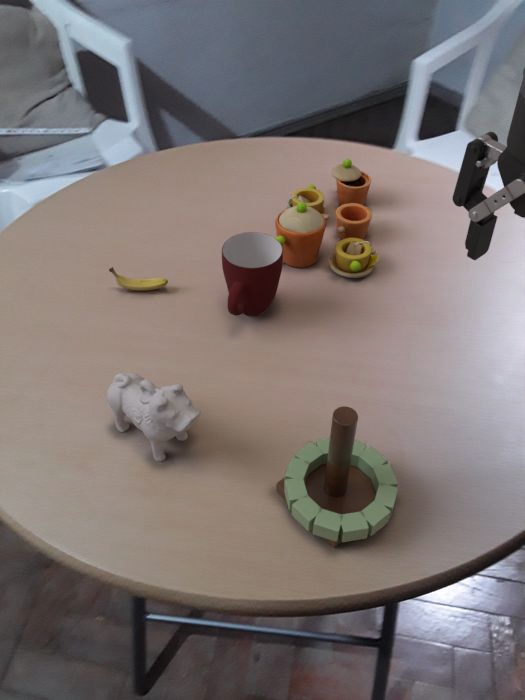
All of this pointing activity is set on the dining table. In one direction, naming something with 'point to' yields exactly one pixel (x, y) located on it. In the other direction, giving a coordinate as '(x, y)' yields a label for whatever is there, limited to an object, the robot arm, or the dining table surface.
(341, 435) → the holder
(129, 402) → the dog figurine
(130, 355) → the dining table surface
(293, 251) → the toy tea set
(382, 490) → the ring
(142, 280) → the banana
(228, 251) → the mug
